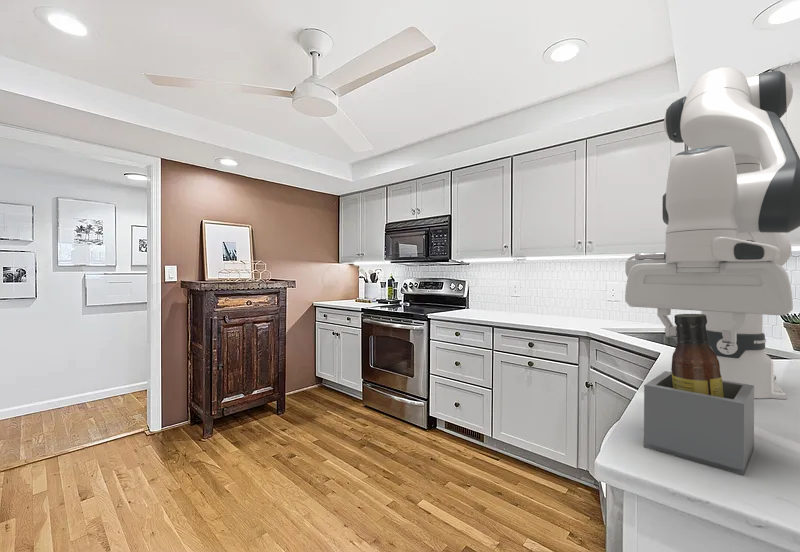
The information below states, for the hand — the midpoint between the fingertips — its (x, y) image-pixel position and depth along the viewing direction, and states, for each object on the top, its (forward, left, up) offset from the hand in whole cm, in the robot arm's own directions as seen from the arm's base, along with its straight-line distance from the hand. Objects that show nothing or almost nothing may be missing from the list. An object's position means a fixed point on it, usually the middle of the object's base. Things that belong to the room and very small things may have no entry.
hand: (699, 339), depth 59 cm
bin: (0, 0, -17) cm, 17 cm away
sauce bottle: (0, 0, -16) cm, 16 cm away
